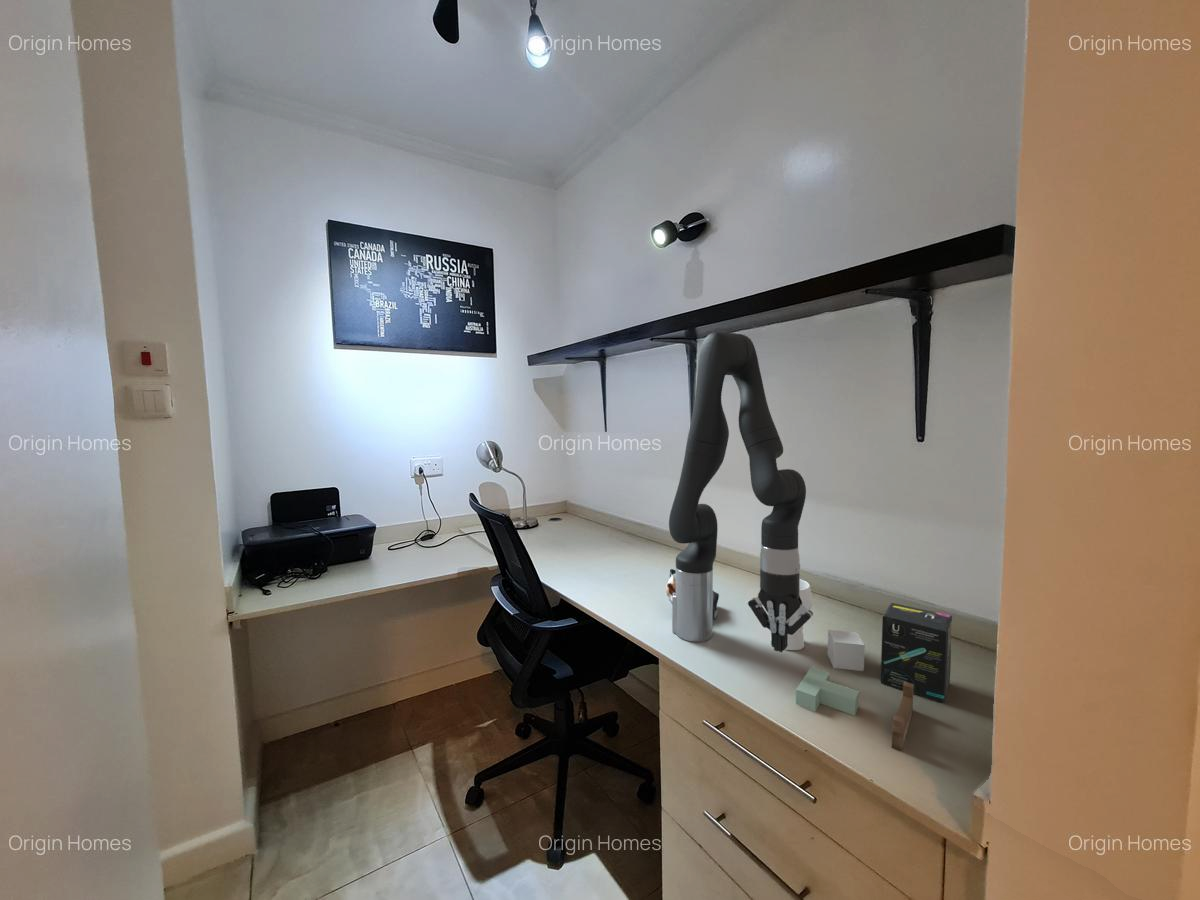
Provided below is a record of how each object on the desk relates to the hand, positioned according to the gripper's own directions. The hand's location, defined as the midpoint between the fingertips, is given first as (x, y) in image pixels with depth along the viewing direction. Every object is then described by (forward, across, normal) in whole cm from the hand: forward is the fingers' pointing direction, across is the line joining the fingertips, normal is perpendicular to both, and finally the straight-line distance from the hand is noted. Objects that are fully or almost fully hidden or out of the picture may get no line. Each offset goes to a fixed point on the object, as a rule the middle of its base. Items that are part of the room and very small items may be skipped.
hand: (779, 650), depth 95 cm
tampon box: (+8, +21, +18) cm, 29 cm away
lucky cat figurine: (+7, -31, +19) cm, 37 cm away
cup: (+7, -5, +19) cm, 21 cm away
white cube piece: (+8, +8, +18) cm, 21 cm away
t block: (+7, +9, 0) cm, 12 cm away
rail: (+8, +21, 0) cm, 23 cm away
